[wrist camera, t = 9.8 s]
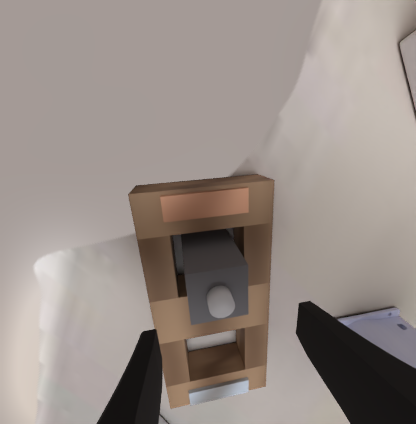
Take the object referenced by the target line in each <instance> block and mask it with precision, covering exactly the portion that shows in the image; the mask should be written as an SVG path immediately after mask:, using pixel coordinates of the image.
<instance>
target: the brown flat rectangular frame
mask: <svg viewBox="0 0 416 424" xmlns="http://www.w3.org/2000/svg"><path fill="white" fill-rule="evenodd" d="M128 196H129V201H130V206H131V211H132V216H133V221H134V225H135V231H136V236H137V241H138V246H139V252H140V257H141V262H142V267H143V272H144V277H145V282H146V287H147V292H148V297H149V302H150V307H151V312H152V317H153V322H154V327H155V329H157V334H158V340H159V345H160V350H161V355H162V368H163V373H164V378H165V383H166V388H167V393H168V398H169V403H170V408H171V409H172V408H176V407H180V406H184V405H189V404H190V406H191V405H196V404H200V403H204V402H208V401H213V400H217V399H221V398H225V397H229V396H234V395H238V394H242V393H246V392H249V390H252V389H256V388H261V387H265V386H266V366H267V342H268V318H269V294H270V270H271V246H272V222H273V199H274V180H272V179H269V178H267V177H264V176H261V175H258V174H256V175H245V176H235V177H224V178H213V179H203V180H191V181H180V182H170V183H159V184H148V185H138V186H135V188H134V189H133V190H132V191H131V192H130V193H129V194H128ZM226 228H233V231H234V243H235V244H236V246H237V247H238V249H239V251H240V252H241V254H242V256H243V257H244V259H245V260H246V262H247V264H248V308H249V314H248V315H243V316H238V317H232V318H227V319H222V320H216V321H211V322H206V323H200V324H195V325H191V321H190V313H189V305H188V297H187V289H186V281H185V274H183V275H178V274H177V267H176V259H175V252H174V244H173V237H172V235H178V234H186V233H194V232H202V231H210V230H218V229H226ZM231 330H236V342H235V343H230V344H225V345H220V346H215V347H210V348H205V349H200V350H195V351H190V352H188V349H187V341H186V339H189V338H194V337H200V336H205V335H210V334H215V333H220V332H225V331H231Z"/></svg>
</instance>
